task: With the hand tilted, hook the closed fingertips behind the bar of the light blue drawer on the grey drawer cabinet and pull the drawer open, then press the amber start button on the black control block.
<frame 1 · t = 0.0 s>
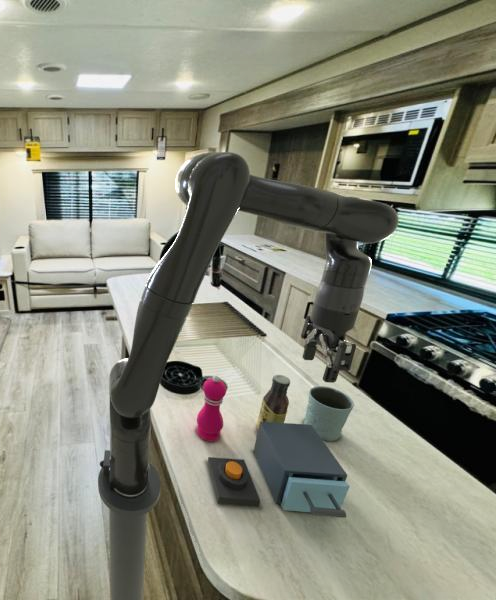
hand: (317, 369, 70), 29 cm above the counter, tool pointing down, fingers open, 8 cm apart
sauce bottle: (267, 435, 90), on the counter
light blue drawer: (304, 480, 71), point 5 cm above the counter, slide at 0.8 cm
pepper mill: (208, 433, 91), on the counter
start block: (231, 483, 76), on the counter
grey drawer cabinet: (290, 477, 77), on the counter
embossed plant pot: (320, 430, 91), on the counter
start button: (233, 470, 75), point 4 cm above the counter, slide at 0.1 cm
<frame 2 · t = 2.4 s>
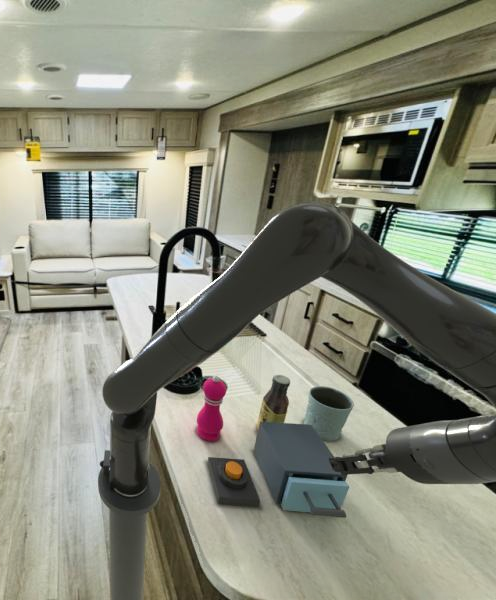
hand: (353, 460, 57), 22 cm above the counter, tool tilted 40°, fingers open, 8 cm apart
nothing on the counter moved.
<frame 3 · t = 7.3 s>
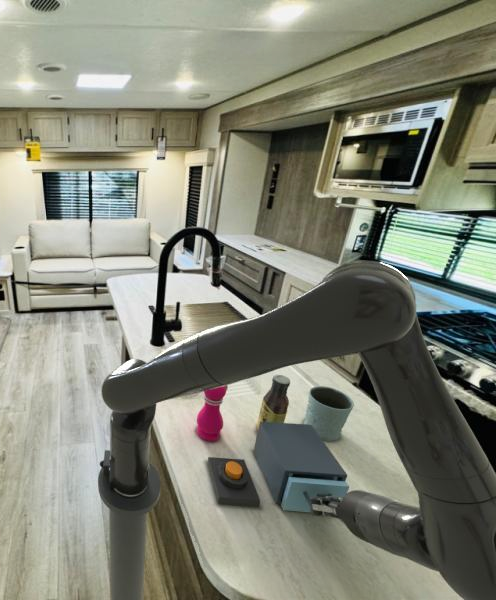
hand: (321, 499, 65), 7 cm above the counter, tool tilted 45°, fingers closed
light blue drawer: (304, 480, 71), point 5 cm above the counter, slide at 0.8 cm, touching gripper
everything else where it was.
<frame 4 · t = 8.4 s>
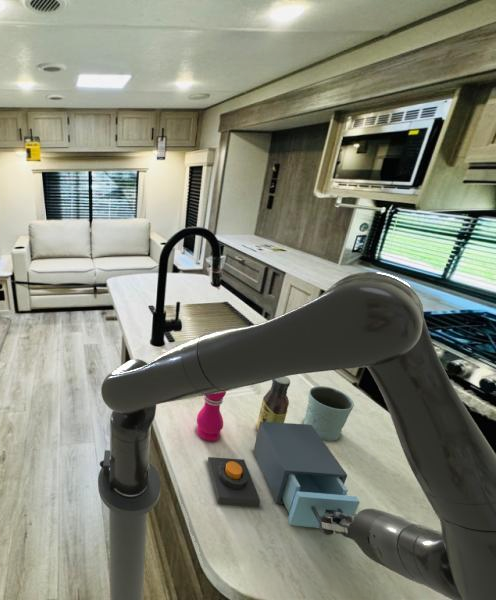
hand: (330, 515, 62), 7 cm above the counter, tool tilted 45°, fingers closed
light blue drawer: (312, 493, 68), point 5 cm above the counter, slide at 4.1 cm, touching gripper
everything else where it was.
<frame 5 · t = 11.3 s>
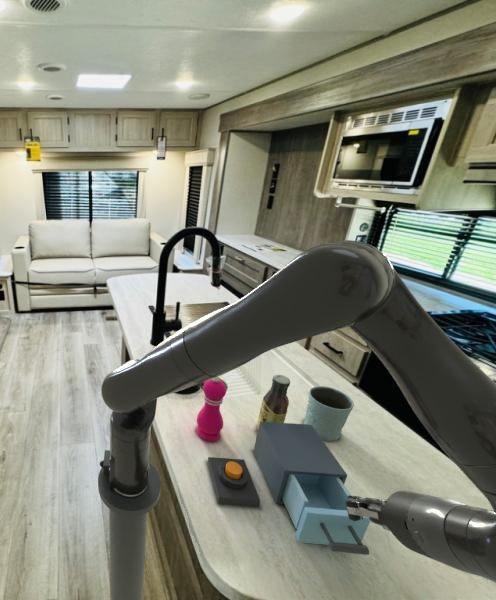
hand: (353, 502, 56), 16 cm above the counter, tool tilted 45°, fingers closed
light blue drawer: (320, 508, 65), point 5 cm above the counter, slide at 7.3 cm
everything else where it was.
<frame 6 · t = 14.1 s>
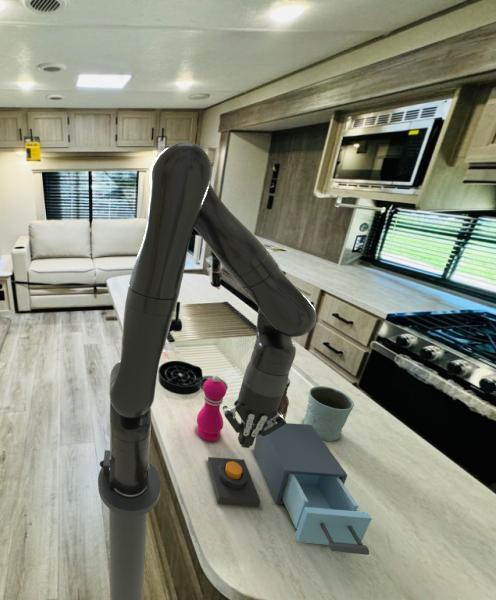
hand: (243, 444, 70), 14 cm above the counter, tool pointing down, fingers closed
nothing on the counter moved.
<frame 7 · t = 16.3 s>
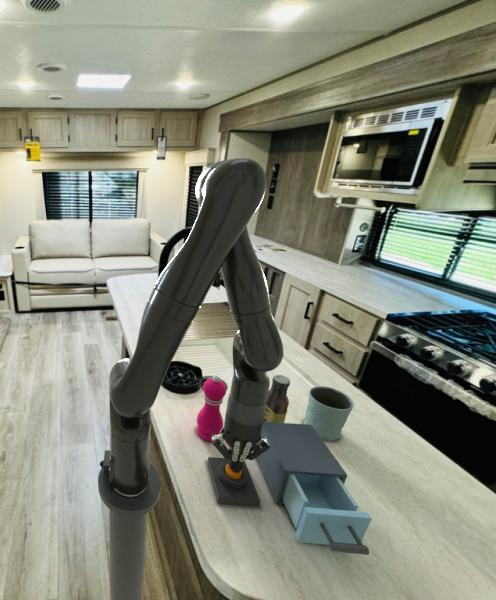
hand: (234, 469, 75), 5 cm above the counter, tool pointing down, fingers closed
start button: (233, 471, 75), point 4 cm above the counter, slide at -0.4 cm, touching gripper
everything else where it was.
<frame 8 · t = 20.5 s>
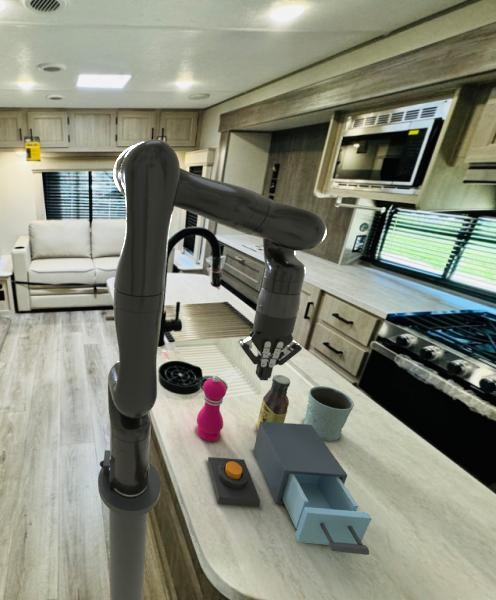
hand: (262, 378, 71), 27 cm above the counter, tool pointing down, fingers closed
start button: (233, 470, 75), point 4 cm above the counter, slide at 0.1 cm
everything else where it was.
at the end: light blue drawer slide at 7.3 cm; start button pushed in 1.2 cm at the most during the clip, back to where it started at the end; start button slide at 0.1 cm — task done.
